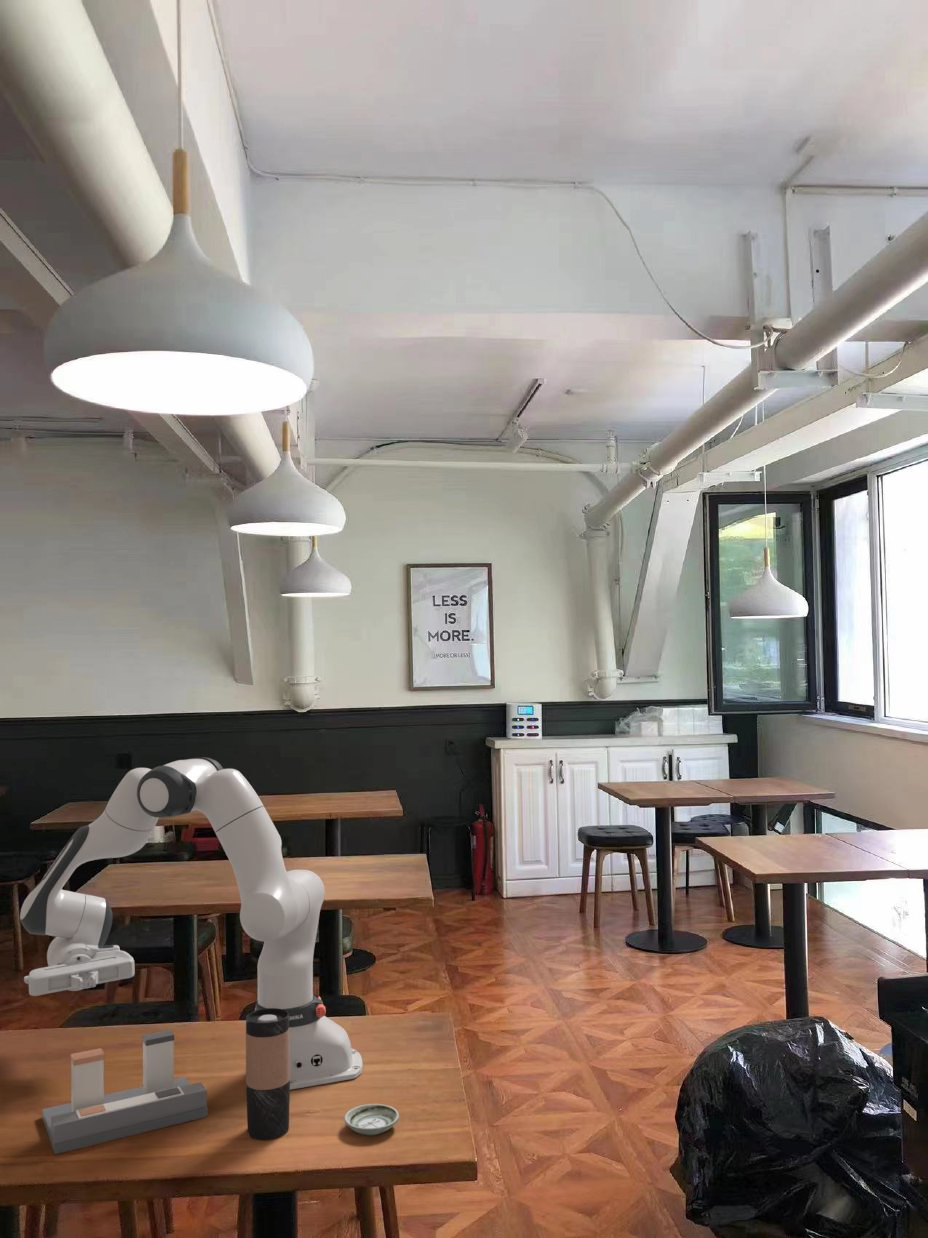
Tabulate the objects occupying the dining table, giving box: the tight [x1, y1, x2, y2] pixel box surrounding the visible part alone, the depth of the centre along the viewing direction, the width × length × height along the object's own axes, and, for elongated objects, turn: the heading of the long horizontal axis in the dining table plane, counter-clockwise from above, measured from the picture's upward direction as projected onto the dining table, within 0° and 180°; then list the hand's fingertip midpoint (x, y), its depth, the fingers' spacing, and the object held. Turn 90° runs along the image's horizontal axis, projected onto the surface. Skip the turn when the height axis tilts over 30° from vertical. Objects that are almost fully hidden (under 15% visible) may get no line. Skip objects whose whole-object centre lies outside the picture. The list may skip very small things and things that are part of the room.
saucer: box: [343, 1103, 400, 1136], centre depth 174 cm, size 10×10×2 cm
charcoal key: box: [141, 1029, 175, 1095], centre depth 185 cm, size 3×5×11 cm, turn 120°
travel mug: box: [245, 1008, 291, 1141], centre depth 174 cm, size 8×8×20 cm
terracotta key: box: [70, 1047, 105, 1112], centre depth 177 cm, size 3×5×11 cm, turn 120°
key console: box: [41, 1076, 209, 1155], centre depth 180 cm, size 26×16×5 cm, turn 120°
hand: (88, 984), depth 194 cm, fingers closed
